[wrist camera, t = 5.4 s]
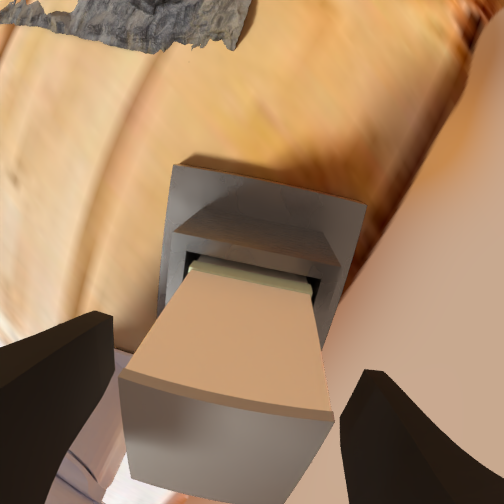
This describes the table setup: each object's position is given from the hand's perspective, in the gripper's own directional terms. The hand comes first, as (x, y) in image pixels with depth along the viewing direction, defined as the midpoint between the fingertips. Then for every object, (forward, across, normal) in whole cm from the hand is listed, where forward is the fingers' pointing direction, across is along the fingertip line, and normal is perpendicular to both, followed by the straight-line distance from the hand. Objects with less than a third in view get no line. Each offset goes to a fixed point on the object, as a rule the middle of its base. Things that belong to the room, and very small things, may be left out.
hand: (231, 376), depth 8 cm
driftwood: (+11, +13, -15) cm, 23 cm away
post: (+6, 0, +1) cm, 6 cm away
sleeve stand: (+10, 0, +1) cm, 10 cm away
